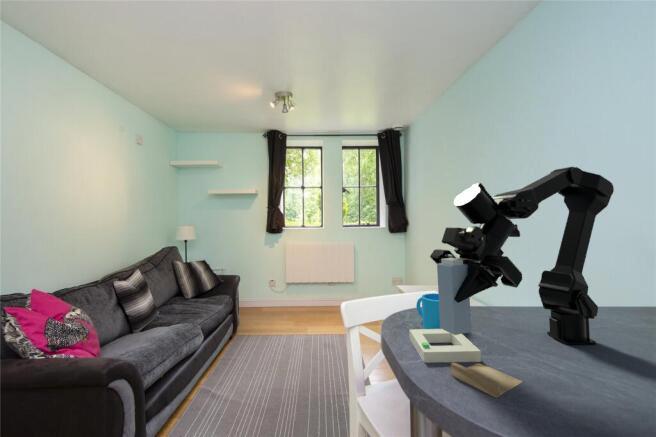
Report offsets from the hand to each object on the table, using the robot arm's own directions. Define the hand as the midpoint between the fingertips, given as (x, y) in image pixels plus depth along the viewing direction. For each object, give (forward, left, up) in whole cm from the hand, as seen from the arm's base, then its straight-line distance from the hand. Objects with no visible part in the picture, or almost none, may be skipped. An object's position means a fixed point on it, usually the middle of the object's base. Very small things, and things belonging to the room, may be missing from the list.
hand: (448, 298), depth 56 cm
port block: (0, -6, -13) cm, 15 cm away
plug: (-1, 0, -6) cm, 7 cm away
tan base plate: (-4, +6, -13) cm, 15 cm away
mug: (-4, -23, -14) cm, 27 cm away
